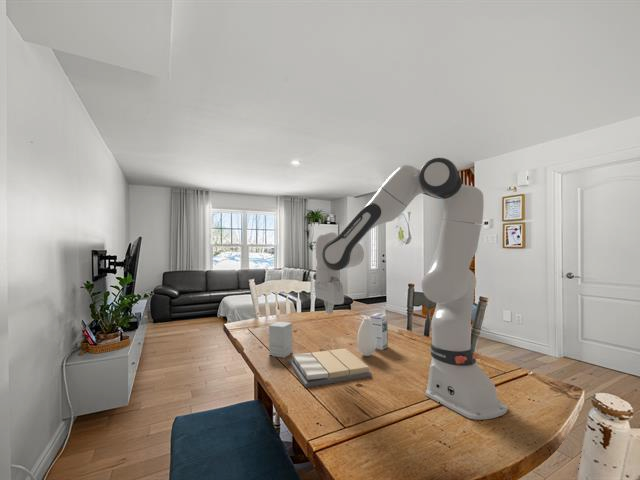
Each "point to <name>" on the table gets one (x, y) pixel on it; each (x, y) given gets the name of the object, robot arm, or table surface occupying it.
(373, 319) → the syrup box
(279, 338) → the supplement box
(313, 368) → the whitewashed plank
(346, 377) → the floor panel
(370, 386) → the table surface
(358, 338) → the sauce bottle
